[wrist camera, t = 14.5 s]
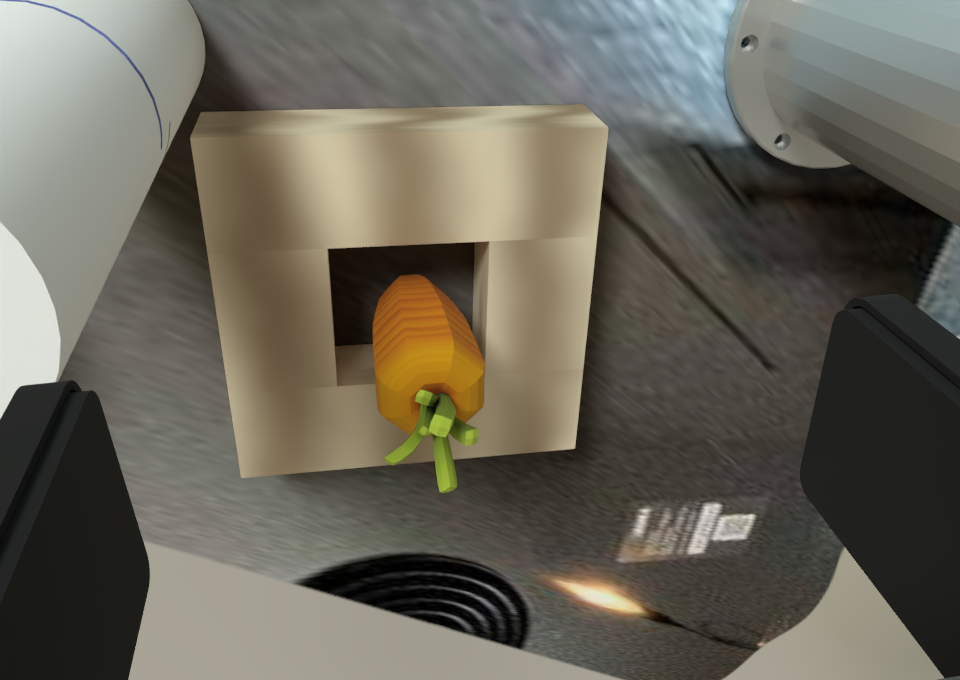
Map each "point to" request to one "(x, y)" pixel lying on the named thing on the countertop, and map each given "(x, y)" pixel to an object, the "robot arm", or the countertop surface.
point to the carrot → (426, 371)
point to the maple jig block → (391, 222)
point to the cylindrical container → (79, 157)
